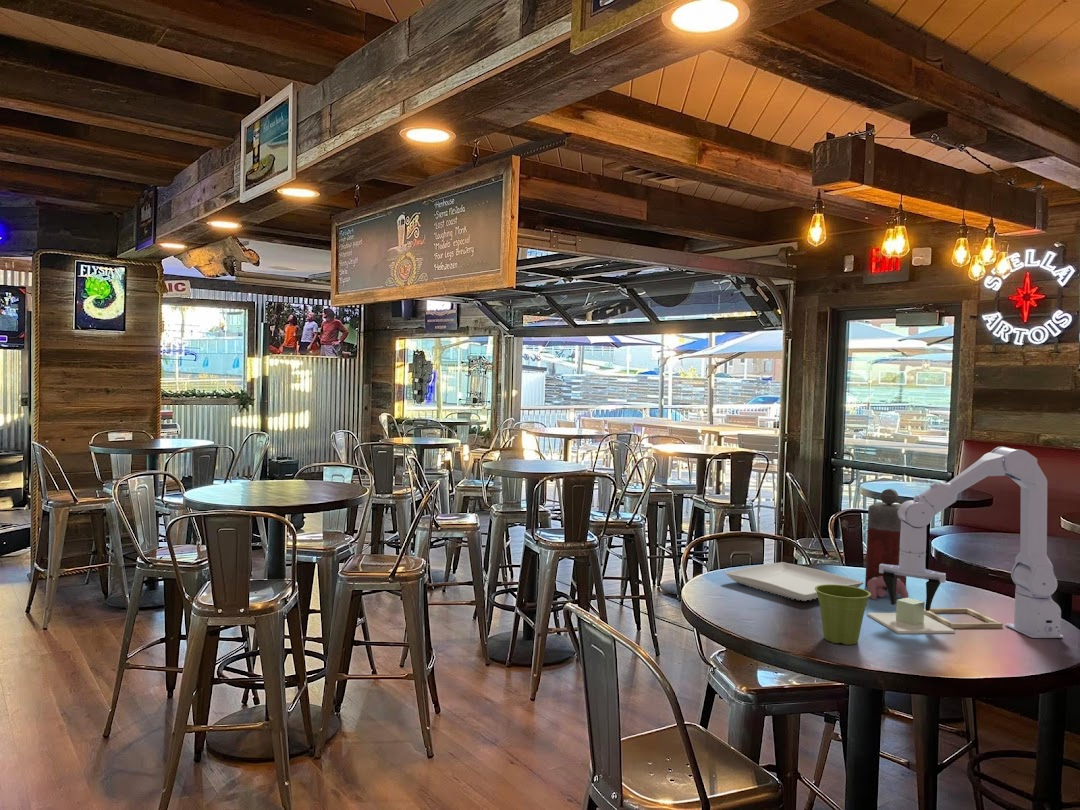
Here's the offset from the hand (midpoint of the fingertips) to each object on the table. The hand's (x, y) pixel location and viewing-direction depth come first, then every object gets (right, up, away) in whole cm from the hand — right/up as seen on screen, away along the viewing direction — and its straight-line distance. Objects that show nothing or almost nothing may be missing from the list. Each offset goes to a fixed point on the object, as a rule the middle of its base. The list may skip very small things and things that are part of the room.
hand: (910, 606), depth 191 cm
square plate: (-18, -3, +31) cm, 37 cm away
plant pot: (-22, -4, -13) cm, 26 cm away
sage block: (0, -4, 0) cm, 4 cm away
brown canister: (+10, -3, +36) cm, 38 cm away
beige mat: (0, -4, 0) cm, 4 cm away
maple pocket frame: (+14, -4, +5) cm, 16 cm away
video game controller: (+4, -4, +23) cm, 24 cm away
